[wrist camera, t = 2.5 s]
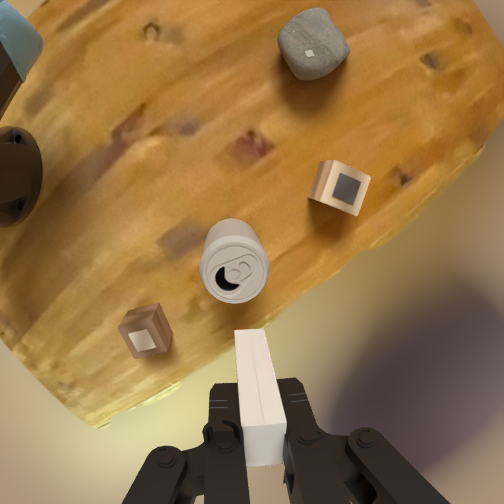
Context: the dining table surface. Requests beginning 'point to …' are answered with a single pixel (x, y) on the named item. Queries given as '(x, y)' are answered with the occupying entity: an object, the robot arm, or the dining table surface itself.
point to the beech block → (339, 186)
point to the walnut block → (146, 331)
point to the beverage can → (233, 262)
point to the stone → (312, 44)
